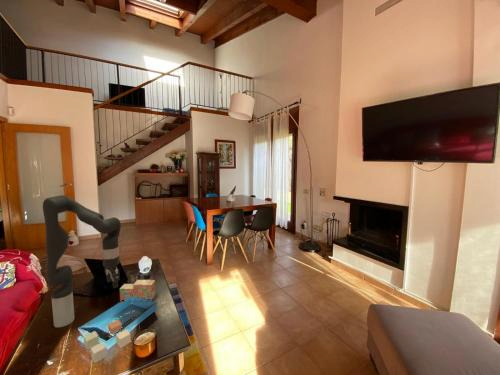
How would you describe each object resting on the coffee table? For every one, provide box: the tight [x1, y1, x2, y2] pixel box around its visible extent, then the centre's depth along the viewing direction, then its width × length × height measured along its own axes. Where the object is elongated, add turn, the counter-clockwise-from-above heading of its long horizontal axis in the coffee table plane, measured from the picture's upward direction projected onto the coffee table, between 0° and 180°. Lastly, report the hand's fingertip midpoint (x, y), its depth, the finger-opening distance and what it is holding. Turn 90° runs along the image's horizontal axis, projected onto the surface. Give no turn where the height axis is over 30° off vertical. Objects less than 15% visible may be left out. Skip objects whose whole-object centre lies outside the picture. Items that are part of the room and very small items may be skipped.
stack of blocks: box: [119, 279, 156, 302], centre depth 151 cm, size 21×6×12 cm, turn 92°
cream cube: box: [115, 328, 131, 349], centre depth 114 cm, size 5×5×5 cm
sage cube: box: [83, 330, 100, 351], centre depth 113 cm, size 5×5×5 cm
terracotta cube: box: [107, 319, 123, 334], centre depth 121 cm, size 5×5×5 cm
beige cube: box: [90, 341, 108, 364], centre depth 106 cm, size 5×5×5 cm
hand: (112, 284), depth 118 cm, fingers open, 8 cm apart
